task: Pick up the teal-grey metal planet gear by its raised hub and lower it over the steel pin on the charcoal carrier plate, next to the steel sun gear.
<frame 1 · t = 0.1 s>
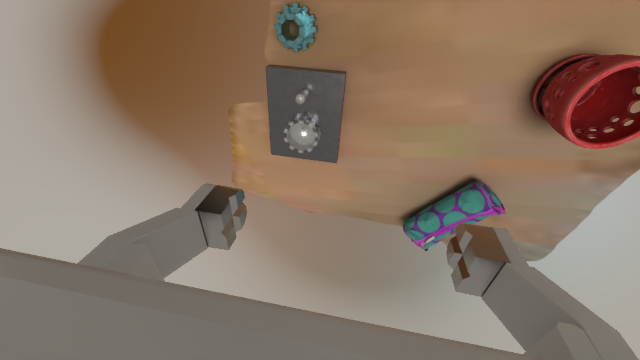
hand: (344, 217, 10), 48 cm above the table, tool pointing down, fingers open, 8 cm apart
carrier plate: (306, 115, 59), on the table
plant pot: (569, 86, 47), on the table
planet gear: (297, 27, 50), on the table
pencil case: (445, 203, 66), on the table
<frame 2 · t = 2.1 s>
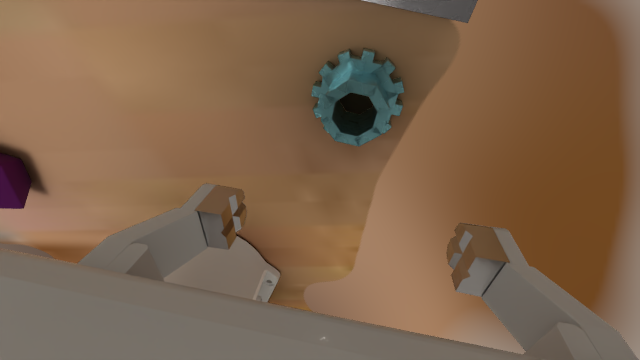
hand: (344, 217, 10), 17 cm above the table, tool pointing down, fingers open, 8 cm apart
planet gear: (357, 95, 24), on the table
perfume bottle: (14, 165, 37), on the table
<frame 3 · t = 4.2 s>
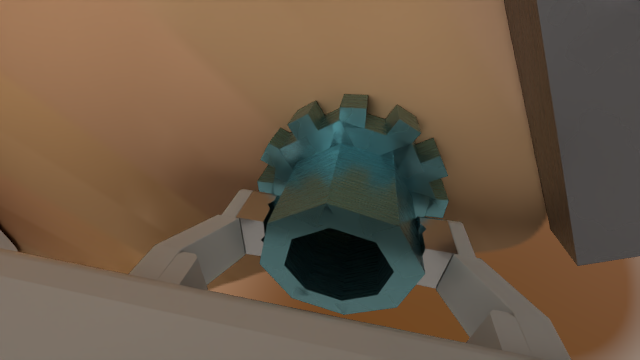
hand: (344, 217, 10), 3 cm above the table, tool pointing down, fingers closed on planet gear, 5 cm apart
planet gear: (350, 179, 12), on the table, touching gripper
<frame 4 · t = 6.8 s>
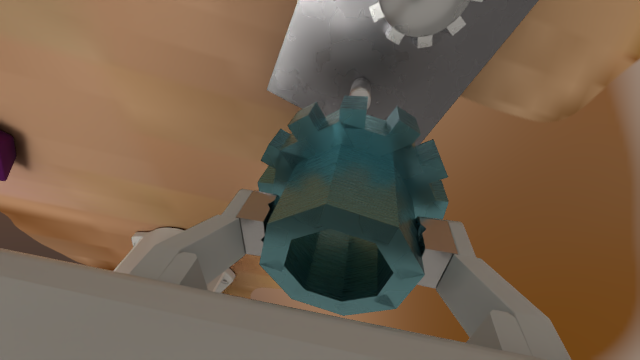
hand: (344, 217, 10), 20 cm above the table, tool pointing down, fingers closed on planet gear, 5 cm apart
carrier plate: (394, 24, 23), on the table
planet gear: (350, 180, 12), point 17 cm above the table, touching gripper
perfume bottle: (1, 138, 39), on the table
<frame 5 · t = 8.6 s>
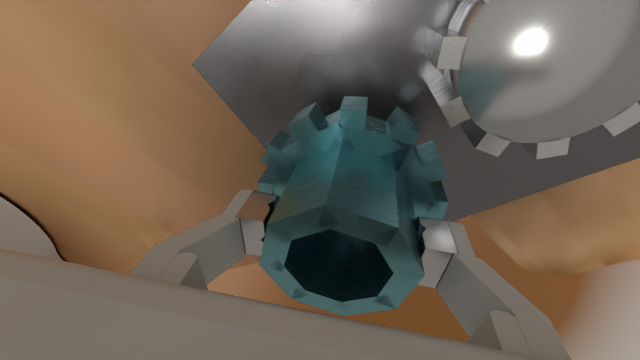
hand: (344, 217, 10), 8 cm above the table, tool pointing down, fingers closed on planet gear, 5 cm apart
carrier plate: (440, 74, 14), on the table
planet gear: (350, 180, 12), point 5 cm above the table, touching gripper
when the fingers open (6 cm above the table, at t = 9.8 s): planet gear stays where it is, resting on carrier plate.
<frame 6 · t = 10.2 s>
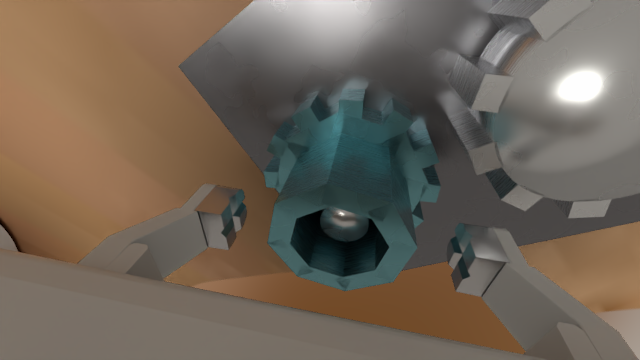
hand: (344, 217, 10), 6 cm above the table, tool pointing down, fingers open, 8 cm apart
carrier plate: (460, 103, 12), on the table
planet gear: (350, 169, 13), point 2 cm above the table, touching carrier plate
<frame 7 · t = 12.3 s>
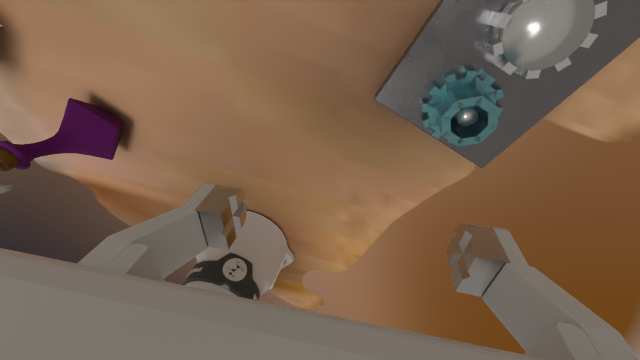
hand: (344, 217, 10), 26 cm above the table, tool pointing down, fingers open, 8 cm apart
carrier plate: (495, 54, 28), on the table
planet gear: (458, 105, 29), point 2 cm above the table, touching carrier plate
perfume bottle: (110, 122, 44), on the table
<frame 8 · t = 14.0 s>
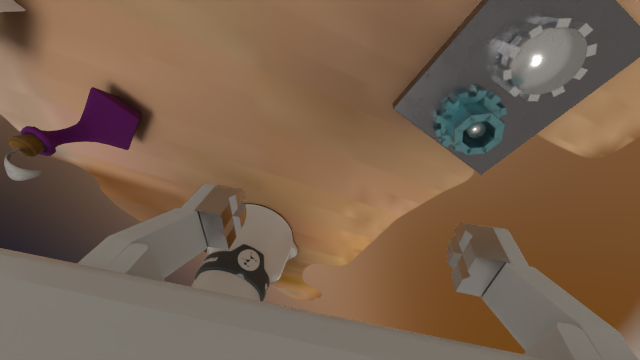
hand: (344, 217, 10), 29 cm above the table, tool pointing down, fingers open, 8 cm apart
carrier plate: (500, 76, 32), on the table
planet gear: (466, 118, 33), point 2 cm above the table, touching carrier plate
perfume bottle: (127, 113, 45), on the table
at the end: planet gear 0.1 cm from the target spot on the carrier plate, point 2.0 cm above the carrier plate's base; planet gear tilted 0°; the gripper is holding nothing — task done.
